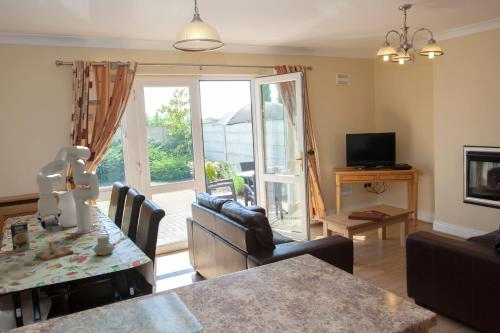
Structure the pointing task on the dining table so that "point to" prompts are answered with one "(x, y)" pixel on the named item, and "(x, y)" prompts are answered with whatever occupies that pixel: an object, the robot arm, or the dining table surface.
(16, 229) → the coffee box
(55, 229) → the open ended gray sleeve
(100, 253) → the air freshener
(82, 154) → the robot arm
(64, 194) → the pitcher
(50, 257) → the board
